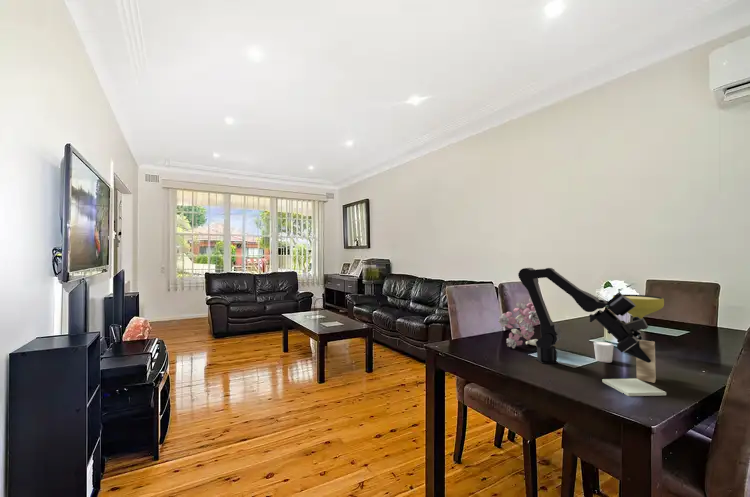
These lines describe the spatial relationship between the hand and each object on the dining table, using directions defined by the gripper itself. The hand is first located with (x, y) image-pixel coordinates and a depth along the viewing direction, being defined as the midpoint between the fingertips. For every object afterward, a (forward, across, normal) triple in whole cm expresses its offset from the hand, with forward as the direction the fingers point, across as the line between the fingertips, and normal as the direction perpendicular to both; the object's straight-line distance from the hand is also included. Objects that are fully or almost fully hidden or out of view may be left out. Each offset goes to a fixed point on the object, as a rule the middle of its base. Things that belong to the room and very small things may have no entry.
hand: (650, 359), depth 123 cm
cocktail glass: (+1, +36, +10) cm, 38 cm away
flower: (-30, +17, +40) cm, 53 cm away
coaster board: (+2, -13, +8) cm, 16 cm away
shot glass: (-6, +16, +17) cm, 24 cm away
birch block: (+4, 0, +6) cm, 7 cm away
